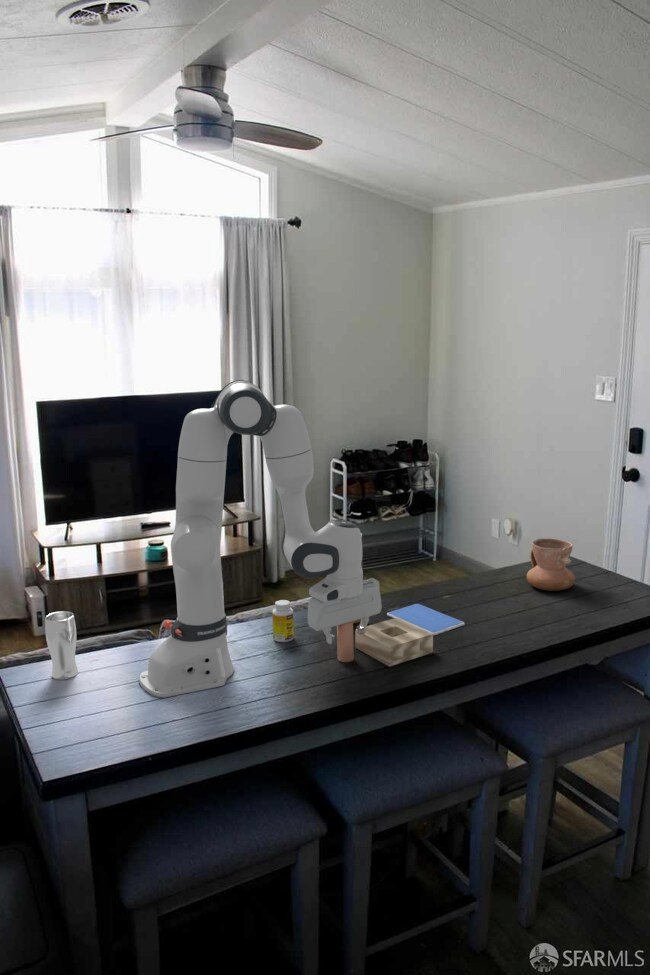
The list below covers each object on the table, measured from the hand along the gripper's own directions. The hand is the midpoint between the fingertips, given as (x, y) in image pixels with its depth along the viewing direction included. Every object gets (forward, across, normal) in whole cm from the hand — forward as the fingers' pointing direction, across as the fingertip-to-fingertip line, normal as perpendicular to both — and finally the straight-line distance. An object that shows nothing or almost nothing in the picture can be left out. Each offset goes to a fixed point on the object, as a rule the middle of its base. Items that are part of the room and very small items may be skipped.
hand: (346, 638), depth 198 cm
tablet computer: (+7, -33, -8) cm, 34 cm away
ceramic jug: (+6, -82, -6) cm, 82 cm away
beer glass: (+5, +60, -33) cm, 69 cm away
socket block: (+6, -13, +3) cm, 14 cm away
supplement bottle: (+6, +6, -20) cm, 22 cm away
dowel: (+6, 0, 0) cm, 6 cm away
